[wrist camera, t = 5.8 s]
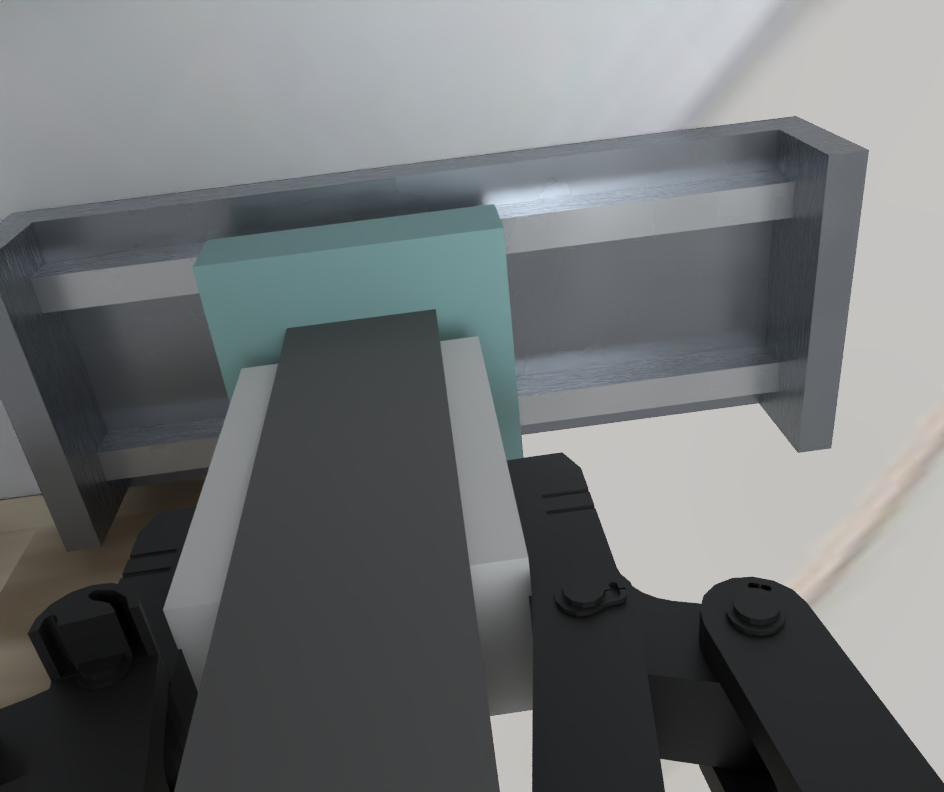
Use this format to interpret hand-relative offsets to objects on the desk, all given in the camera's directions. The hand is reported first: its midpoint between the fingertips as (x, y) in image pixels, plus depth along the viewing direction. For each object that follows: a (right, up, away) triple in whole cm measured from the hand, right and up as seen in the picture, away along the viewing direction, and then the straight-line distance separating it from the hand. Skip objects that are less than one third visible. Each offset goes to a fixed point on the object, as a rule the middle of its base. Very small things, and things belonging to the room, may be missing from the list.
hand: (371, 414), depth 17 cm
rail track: (+1, +3, +4) cm, 5 cm away
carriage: (0, +1, +2) cm, 3 cm away
